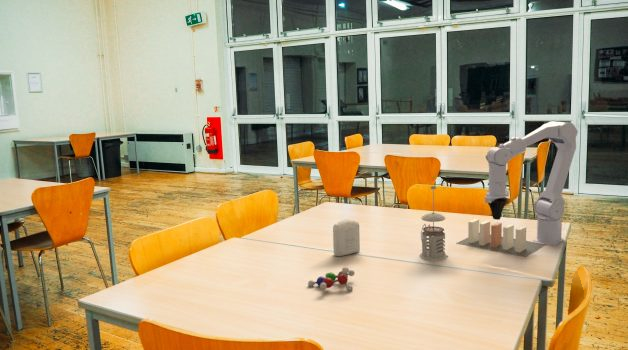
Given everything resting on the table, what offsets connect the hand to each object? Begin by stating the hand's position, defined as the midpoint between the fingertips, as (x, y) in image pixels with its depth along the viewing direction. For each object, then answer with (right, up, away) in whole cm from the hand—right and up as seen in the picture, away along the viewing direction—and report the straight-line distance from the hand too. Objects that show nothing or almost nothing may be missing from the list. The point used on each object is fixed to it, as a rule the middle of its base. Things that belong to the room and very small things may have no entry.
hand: (496, 219), depth 182 cm
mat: (+3, -10, +4) cm, 11 cm away
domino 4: (+7, -11, -5) cm, 13 cm away
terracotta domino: (0, -10, +2) cm, 10 cm away
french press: (-24, -13, -6) cm, 28 cm away
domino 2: (-3, -9, +5) cm, 11 cm away
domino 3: (+4, -10, -1) cm, 11 cm away
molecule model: (-60, -18, -29) cm, 69 cm away
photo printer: (-53, -13, +2) cm, 55 cm away
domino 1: (-6, -9, +8) cm, 13 cm away
